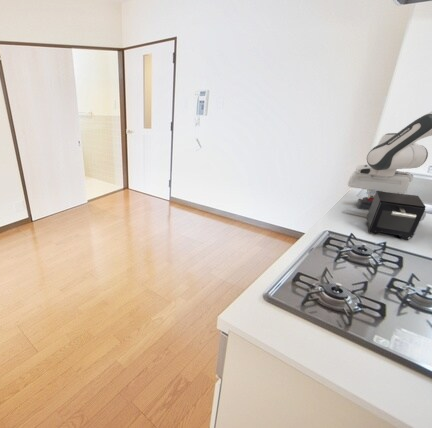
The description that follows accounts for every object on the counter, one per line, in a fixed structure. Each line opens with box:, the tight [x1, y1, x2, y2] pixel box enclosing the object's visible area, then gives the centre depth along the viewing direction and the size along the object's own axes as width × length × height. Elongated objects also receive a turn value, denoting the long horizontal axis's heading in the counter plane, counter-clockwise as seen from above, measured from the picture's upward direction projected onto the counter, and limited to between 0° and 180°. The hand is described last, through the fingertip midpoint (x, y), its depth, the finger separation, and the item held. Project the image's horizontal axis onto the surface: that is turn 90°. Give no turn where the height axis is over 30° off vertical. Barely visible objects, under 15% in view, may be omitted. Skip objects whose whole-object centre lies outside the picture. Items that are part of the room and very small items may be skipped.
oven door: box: [370, 202, 426, 239], centre depth 101 cm, size 7×12×12 cm, turn 54°
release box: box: [356, 196, 373, 211], centre depth 130 cm, size 8×8×4 cm
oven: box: [365, 190, 427, 241], centre depth 108 cm, size 12×12×14 cm
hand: (371, 198), depth 129 cm, fingers closed, pressing on release button
